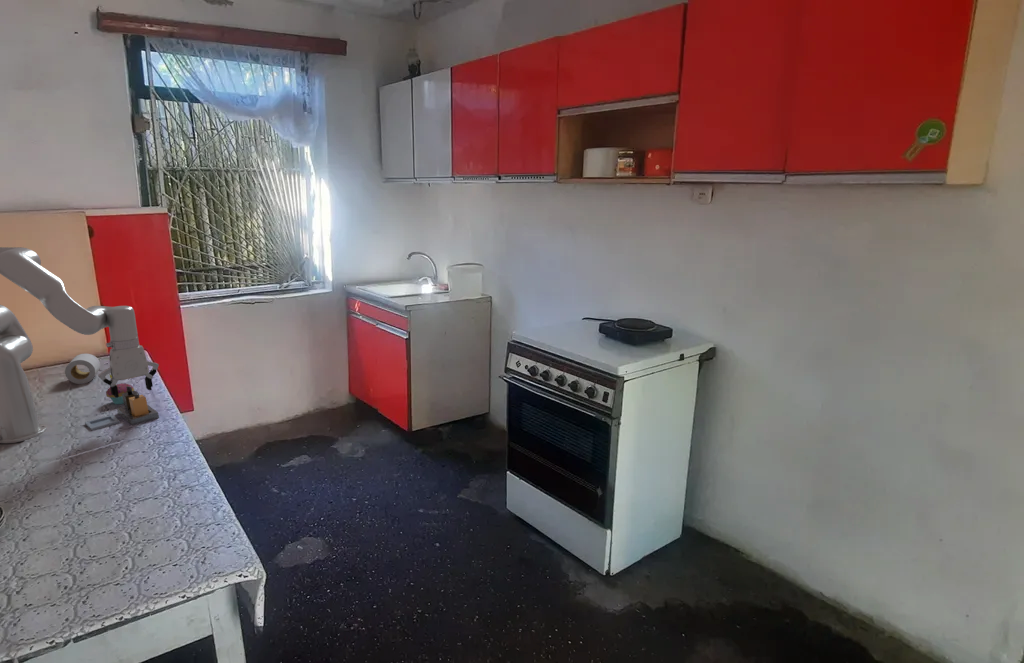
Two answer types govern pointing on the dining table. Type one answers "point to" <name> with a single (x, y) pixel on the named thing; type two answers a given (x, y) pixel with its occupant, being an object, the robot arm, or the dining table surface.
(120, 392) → the cupcake
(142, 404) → the plug
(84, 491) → the dining table surface
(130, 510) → the dining table surface
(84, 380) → the toilet paper
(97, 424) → the tray
